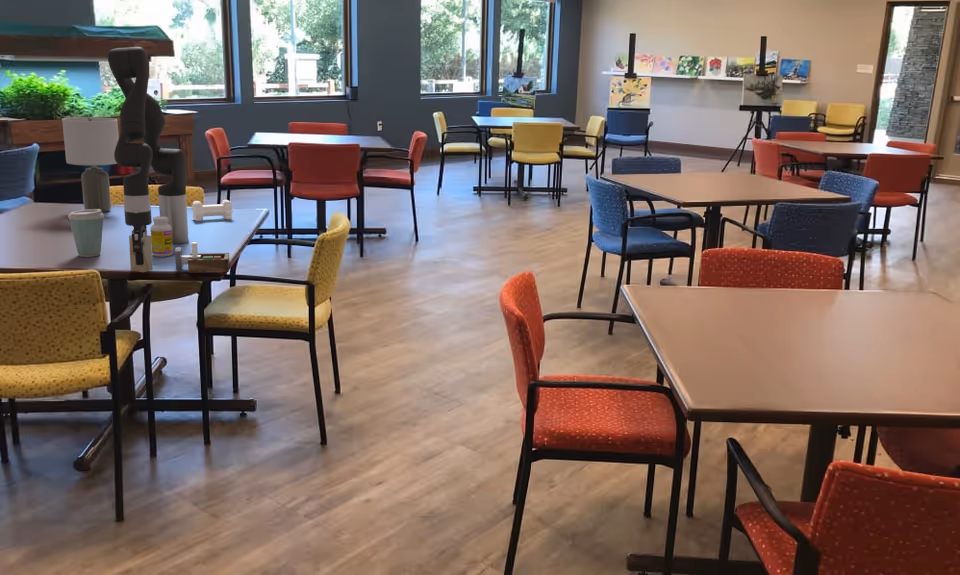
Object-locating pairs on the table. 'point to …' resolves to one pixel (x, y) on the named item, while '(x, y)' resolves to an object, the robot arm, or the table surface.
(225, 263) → the brown wooden open box
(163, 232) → the supplement bottle
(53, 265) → the table surface
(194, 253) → the grey blocky piece
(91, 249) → the disposable coffee cup
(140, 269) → the box
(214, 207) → the dog bone
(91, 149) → the lamp
